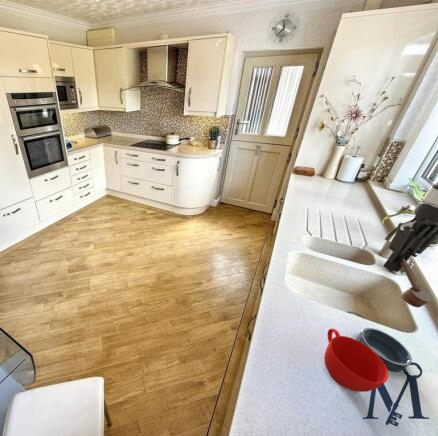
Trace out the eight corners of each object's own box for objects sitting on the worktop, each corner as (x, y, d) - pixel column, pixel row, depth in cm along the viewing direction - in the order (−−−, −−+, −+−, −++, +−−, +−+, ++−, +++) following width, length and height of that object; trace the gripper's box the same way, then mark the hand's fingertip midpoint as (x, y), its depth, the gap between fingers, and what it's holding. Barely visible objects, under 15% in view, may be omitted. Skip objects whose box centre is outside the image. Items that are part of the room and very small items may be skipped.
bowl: (378, 336, 82) (386, 328, 80) (413, 373, 72) (423, 365, 69) (346, 335, 81) (352, 327, 79) (376, 373, 71) (384, 365, 69)
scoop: (425, 307, 69) (452, 293, 63) (410, 307, 69) (435, 292, 63) (384, 263, 80) (404, 248, 75) (371, 263, 80) (390, 247, 74)
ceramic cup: (340, 344, 78) (355, 326, 73) (380, 404, 64) (402, 386, 59) (301, 340, 79) (313, 322, 74) (332, 399, 64) (350, 380, 59)
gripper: (448, 200, 68) (399, 261, 80) (402, 198, 67) (360, 260, 79) (480, 212, 62) (422, 277, 74) (430, 210, 61) (380, 276, 73)
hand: (390, 268), depth 76 cm, fingers closed on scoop
